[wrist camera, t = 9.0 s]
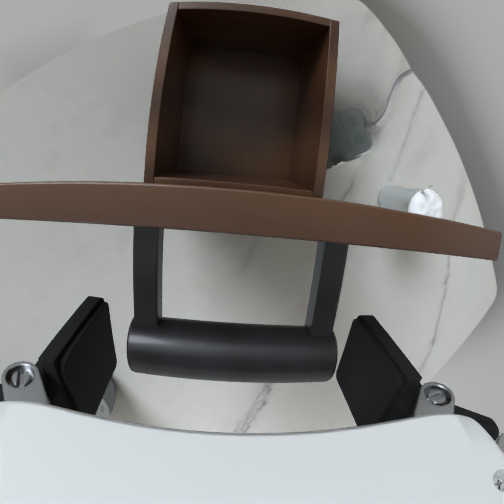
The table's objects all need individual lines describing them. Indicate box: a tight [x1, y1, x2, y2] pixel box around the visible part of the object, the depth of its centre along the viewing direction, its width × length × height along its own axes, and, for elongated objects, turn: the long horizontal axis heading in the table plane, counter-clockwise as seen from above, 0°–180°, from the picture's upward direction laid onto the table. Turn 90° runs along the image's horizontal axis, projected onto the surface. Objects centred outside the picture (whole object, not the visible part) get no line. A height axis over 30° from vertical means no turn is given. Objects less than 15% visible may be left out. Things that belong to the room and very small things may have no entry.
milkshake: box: [378, 185, 443, 219], centre depth 29 cm, size 5×5×10 cm
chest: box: [144, 2, 339, 198], centre depth 24 cm, size 16×14×11 cm
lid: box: [0, 181, 502, 383], centre depth 14 cm, size 16×14×6 cm
